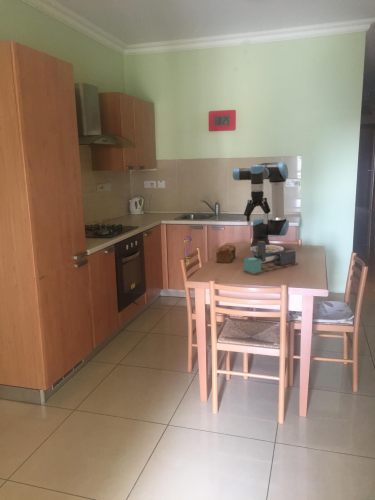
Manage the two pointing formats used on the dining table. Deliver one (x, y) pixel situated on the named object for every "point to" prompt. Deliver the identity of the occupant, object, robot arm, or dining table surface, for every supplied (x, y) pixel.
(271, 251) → the ramen bowl
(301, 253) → the dining table surface
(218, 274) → the dining table surface
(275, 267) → the walnut board
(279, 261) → the dark grey block
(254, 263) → the teal block
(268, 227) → the robot arm
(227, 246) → the bread
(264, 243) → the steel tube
